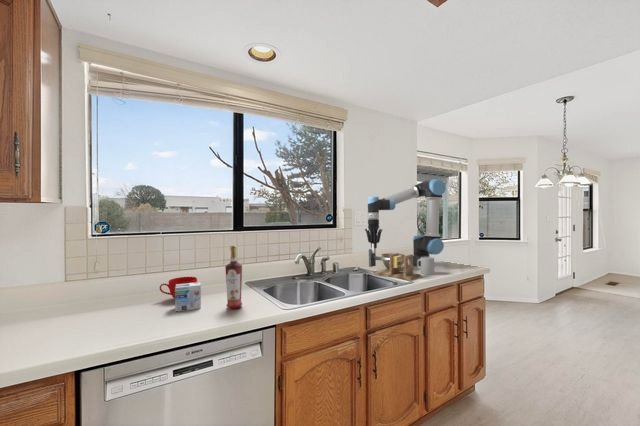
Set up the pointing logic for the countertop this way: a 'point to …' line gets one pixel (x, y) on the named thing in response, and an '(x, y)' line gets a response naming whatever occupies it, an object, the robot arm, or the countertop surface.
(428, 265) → the mug
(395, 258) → the collar
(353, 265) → the countertop surface
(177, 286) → the light bulb box
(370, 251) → the shaft
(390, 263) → the bearing block
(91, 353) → the countertop surface
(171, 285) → the ceramic cup
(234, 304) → the liquor
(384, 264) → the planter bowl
